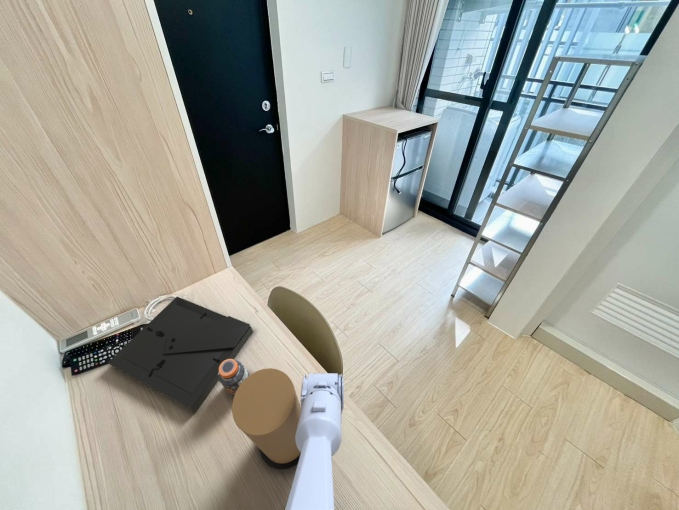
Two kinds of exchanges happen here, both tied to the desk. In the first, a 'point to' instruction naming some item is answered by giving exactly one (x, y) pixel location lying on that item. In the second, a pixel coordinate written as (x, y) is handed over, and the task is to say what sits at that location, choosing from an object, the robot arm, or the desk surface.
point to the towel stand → (278, 465)
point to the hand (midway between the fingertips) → (327, 430)
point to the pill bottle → (232, 375)
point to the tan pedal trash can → (269, 413)
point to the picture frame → (183, 351)
